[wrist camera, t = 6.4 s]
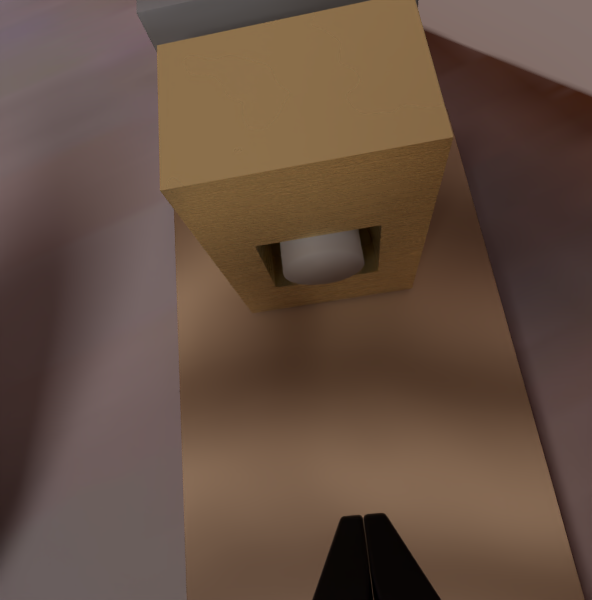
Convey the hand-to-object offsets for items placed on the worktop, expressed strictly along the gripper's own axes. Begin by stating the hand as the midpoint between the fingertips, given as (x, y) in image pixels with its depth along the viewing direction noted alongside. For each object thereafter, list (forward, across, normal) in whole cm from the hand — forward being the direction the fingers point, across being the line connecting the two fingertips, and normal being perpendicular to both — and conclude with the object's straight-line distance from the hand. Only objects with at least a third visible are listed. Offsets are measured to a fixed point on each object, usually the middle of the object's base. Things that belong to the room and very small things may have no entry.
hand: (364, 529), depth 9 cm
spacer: (+11, 0, -2) cm, 11 cm away
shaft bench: (+8, 0, +3) cm, 9 cm away
